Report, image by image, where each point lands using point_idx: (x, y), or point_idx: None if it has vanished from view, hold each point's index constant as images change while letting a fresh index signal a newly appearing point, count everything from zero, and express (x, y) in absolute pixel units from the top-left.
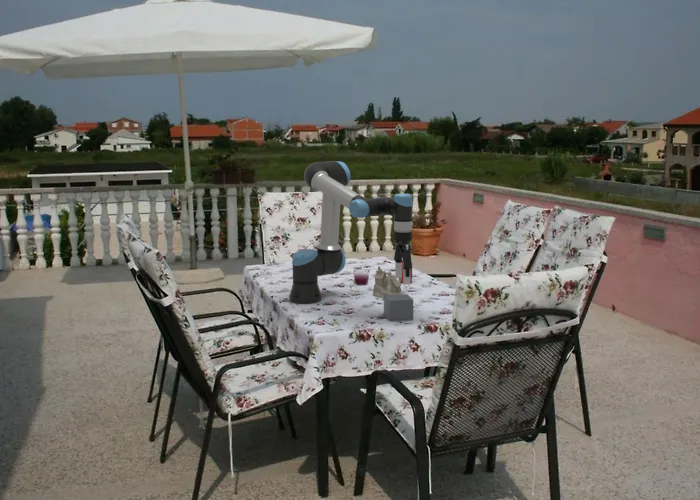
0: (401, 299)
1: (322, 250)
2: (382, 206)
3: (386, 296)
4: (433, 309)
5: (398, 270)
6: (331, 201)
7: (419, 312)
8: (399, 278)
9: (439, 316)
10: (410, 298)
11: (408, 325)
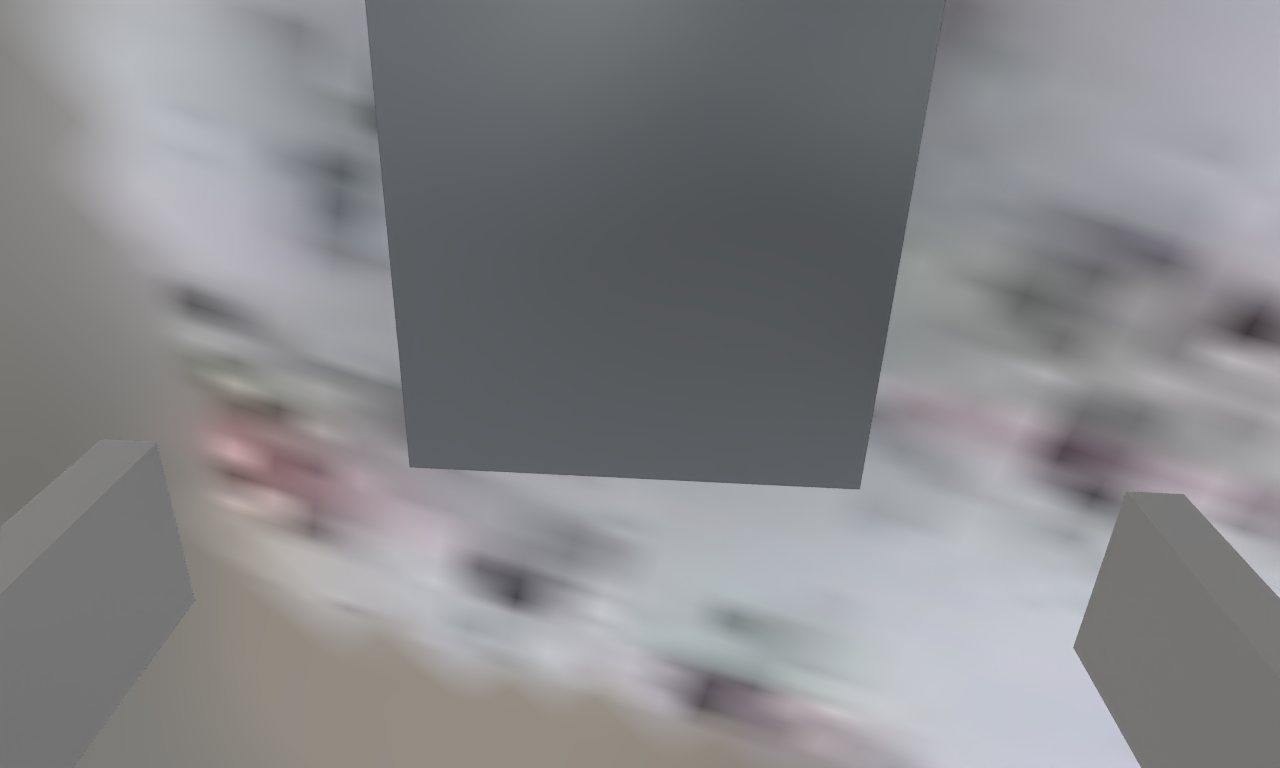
0: (443, 267)
1: None
2: None
3: (789, 21)
4: (895, 666)
5: (1232, 758)
6: None
7: (822, 497)
8: None
9: (589, 630)
10: (500, 446)
11: (232, 181)
